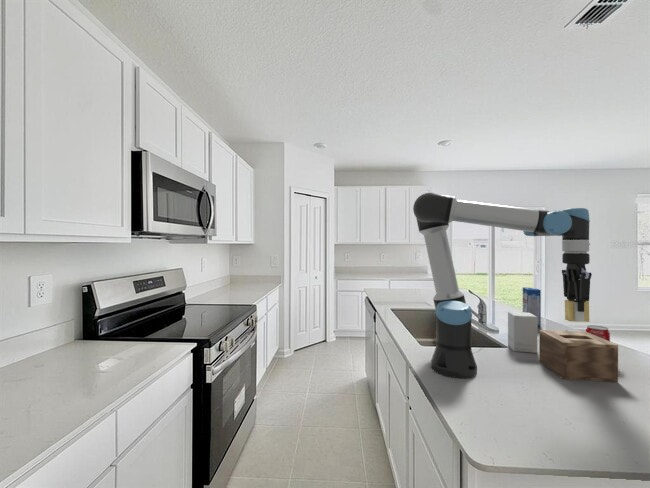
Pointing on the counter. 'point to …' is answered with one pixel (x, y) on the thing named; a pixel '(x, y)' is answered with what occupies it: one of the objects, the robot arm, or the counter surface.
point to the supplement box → (522, 332)
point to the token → (570, 311)
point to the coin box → (578, 355)
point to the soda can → (599, 331)
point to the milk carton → (532, 302)
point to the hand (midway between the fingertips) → (576, 319)
